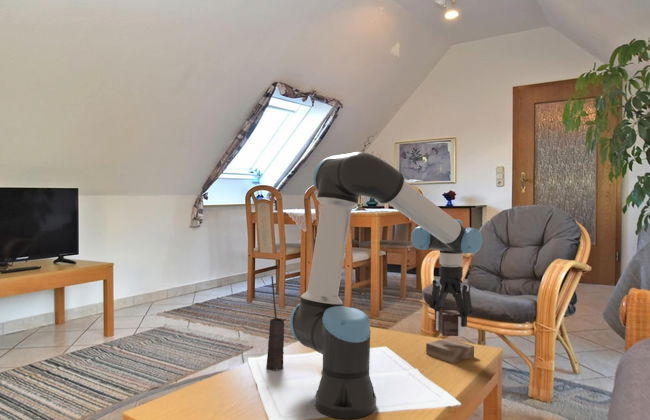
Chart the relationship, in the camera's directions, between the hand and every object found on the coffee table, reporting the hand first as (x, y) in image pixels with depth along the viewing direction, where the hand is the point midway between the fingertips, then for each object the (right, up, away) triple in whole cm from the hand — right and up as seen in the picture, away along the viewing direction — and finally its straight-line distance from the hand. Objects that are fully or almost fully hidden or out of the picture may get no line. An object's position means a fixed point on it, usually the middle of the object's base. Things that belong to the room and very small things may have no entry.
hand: (450, 332), depth 152 cm
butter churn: (-56, -7, -14) cm, 58 cm away
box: (0, -1, 0) cm, 1 cm away
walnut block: (0, -8, 0) cm, 8 cm away
